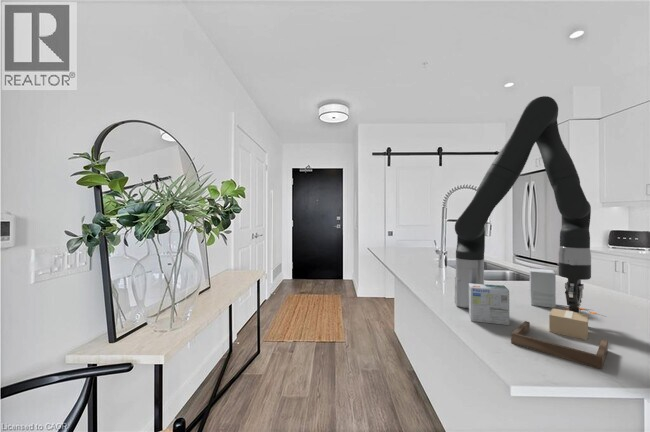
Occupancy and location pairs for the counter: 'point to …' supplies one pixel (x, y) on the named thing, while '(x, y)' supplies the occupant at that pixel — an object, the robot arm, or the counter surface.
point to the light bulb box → (489, 303)
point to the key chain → (581, 309)
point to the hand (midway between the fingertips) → (574, 318)
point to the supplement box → (543, 288)
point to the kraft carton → (568, 323)
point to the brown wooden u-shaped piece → (559, 348)
